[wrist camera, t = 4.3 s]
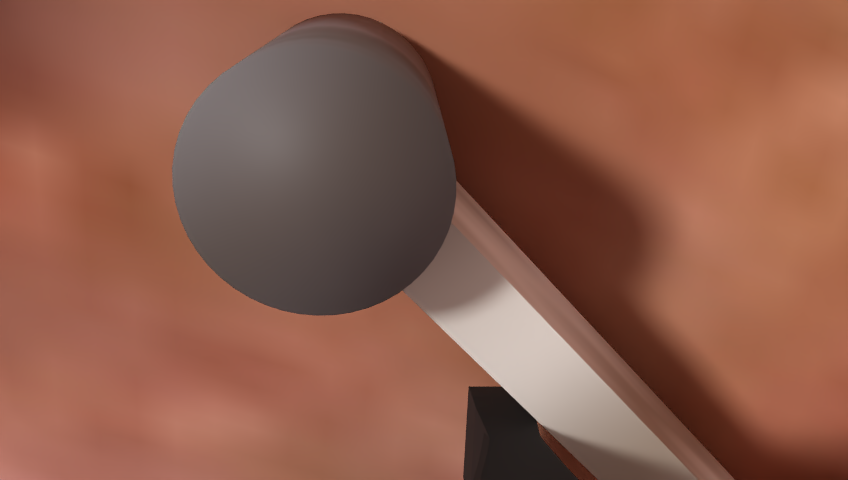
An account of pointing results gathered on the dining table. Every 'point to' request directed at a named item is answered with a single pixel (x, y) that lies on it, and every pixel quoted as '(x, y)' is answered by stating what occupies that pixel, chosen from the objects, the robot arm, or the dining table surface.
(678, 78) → the dining table surface
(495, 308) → the lever
